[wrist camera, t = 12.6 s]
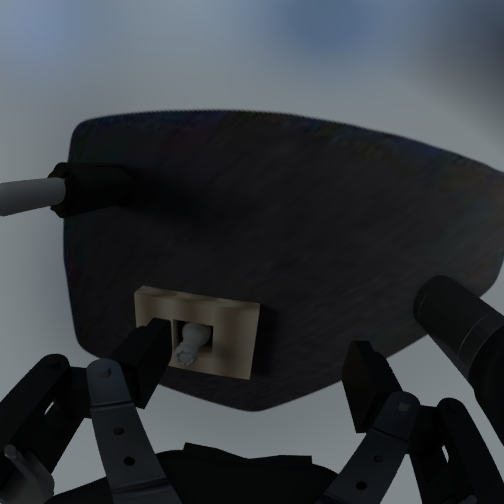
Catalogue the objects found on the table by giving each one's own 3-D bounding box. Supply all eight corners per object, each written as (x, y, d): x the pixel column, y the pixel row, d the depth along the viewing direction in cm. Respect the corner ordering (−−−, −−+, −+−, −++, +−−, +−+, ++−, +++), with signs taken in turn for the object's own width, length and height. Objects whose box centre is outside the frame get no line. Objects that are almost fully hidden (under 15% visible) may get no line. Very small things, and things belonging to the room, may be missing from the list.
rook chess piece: (204, 346, 42) (192, 377, 35) (179, 332, 42) (163, 361, 34) (216, 326, 41) (206, 356, 33) (190, 311, 41) (175, 339, 33)
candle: (136, 181, 36) (-9, 199, 12) (117, 208, 37) (-21, 250, 13) (114, 160, 36) (-28, 160, 12) (97, 187, 37) (-41, 210, 13)
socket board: (259, 303, 40) (259, 313, 37) (250, 368, 43) (249, 379, 40) (142, 285, 40) (134, 292, 37) (146, 349, 43) (140, 358, 40)
